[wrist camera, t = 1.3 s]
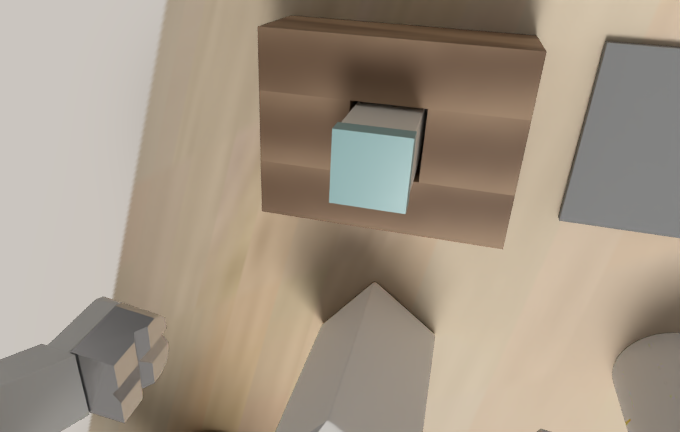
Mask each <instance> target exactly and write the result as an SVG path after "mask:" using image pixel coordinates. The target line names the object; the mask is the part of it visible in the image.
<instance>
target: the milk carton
mask: <svg viewBox="0 0 680 432" xmlns="http://www.w3.org/2000/svg"><path fill="white" fill-rule="evenodd" d="M434 341H435V335H434V334H433V333H432V332H431V331H430V330H429V329H428V328H427V327H426V326H425V325H424V324H422V323H421V322H420V321H419V320H418V319H417V318H416V317H415V316H413V315H412V314H411V313H410V312H409V311H408V310H407V309H406V308H404V307H403V306H402V305H401V304H400V303H399V302H398V301H397V300H395V299H394V298H393V297H392V296H391V295H390V294H389V293H388V292H386V291H385V290H384V289H383V288H382V287H381V286H380V285H378V284H377V283H376V282H374V283H372V284H371V285H370V286H368V287H367V288H366V289H365V290H364V291H362V292H361V293H360V294H359V295H358V296H356V297H355V298H354V299H353V300H351V301H350V302H349V303H348V304H347V305H345V306H344V307H343V308H342V309H341V310H339V311H338V312H337V313H336V314H335V315H333V316H332V317H331V318H330V319H328V320H327V321H326V322H325V323H324V324H322V326H321V328H320V330H319V333H318V335H317V337H316V340H315V342H314V344H313V346H312V349H311V351H310V353H309V356H308V358H307V360H306V362H305V365H304V367H303V369H302V372H301V374H300V376H299V379H298V381H297V383H296V385H295V388H294V390H293V392H292V395H291V397H290V399H289V401H288V404H287V406H286V408H285V411H284V413H283V415H282V418H281V420H280V422H279V424H278V427H277V429H276V431H275V432H423V426H424V418H425V411H426V403H427V395H428V387H429V380H430V372H431V364H432V356H433V349H434Z"/></svg>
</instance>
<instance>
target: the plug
mask: <svg viewBox="0 0 680 432" xmlns="http://www.w3.org/2000/svg"><path fill="white" fill-rule="evenodd" d="M427 113H428V109H423V108H414V107H405V106H396V105H387V104H378V103H369V102H360V101H358V103H357V104H356V105H355V106H354V107H353V109H352V110H351V111H350V112H349V113H348V115H347V116H346V117H345V118H344V119H343V120H342V122H337V123H336V125H335V126H334V127H333V128H332V144H331V167H330V191H329V203H335V204H341V205H348V206H355V207H361V208H368V209H375V210H381V211H388V212H395V213H401V214H406V211H407V207H408V203H409V194H410V190H411V187H412V184H413V181H414V177H415V174H416V171H417V168H418V164H419V161H420V158H421V155H422V151H423V145H424V137H425V129H426V121H427Z"/></svg>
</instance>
